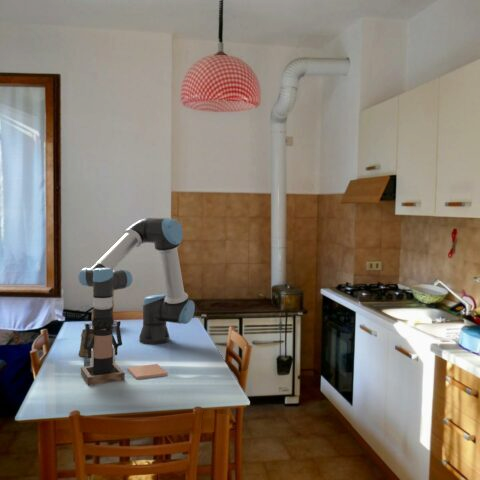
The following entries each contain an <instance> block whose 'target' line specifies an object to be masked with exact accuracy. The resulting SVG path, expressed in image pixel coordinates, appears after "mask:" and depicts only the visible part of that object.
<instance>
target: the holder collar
mask: <svg viewBox="0 0 480 480" xmlns="http://www.w3.org/2000/svg"><path fill="white" fill-rule="evenodd" d="M125 374H126V373H125V371H124V370H123V369H122V368H121V367H120V366H119V365H118V364H117V363H116V362H115V364H112V373H110V374H102V375H94V376H93V367H91V366H87V367H84V366H81V367H80V375H81V377H82V378H83V379H84V382H85V383H86V384H87V385H88V386H93V385H101V384H107V383H116V382H117V383H118V382H123V381H126V380H125V379H126V378H125V377H126V375H125Z"/></svg>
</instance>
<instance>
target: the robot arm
mask: <svg viewBox="0 0 480 480" xmlns="http://www.w3.org/2000/svg"><path fill="white" fill-rule="evenodd" d="M183 236H184V232H183V227H182V225H181V223H180V222H179V220H177V219H174V218H169V217H167V218H161V217H160V218H157V217H156V218H155V217H154V218H153V217H147V218H143V219H139V220H138V221H136V222H134V223H133V224H131V225H130V226H129V227H128V228H126V230H125V231H123V235H122V237H120V239H119V240H118V241H117V242H115V244H114V245H113V246H111V248H109V250H107V251H106V252H104V254H103V255H102V256H101V257H100V258H99V259H98V260H97V261H96V262H95V263H94V264H93V265H92V266H91V267H84V268H82V269H81V270H80V271H79V273H78V281H79V283H80V285H82V286H86V287H90V288H93V289H92V292H93V293H92V307H94V309H93V308H92V311H93V320H92V319H91V322H85V323H84V329H85V334H84V341H83V348H84V349H87V350H88V352H87V356H88V358H90V366H91V367H93V365H94V350H93V349H92V347H93V345H94V336H93V335H92V337H91V339H90V342H89V344H88V338H89V332H90V329H92V325H93V326H94V327H95V329H97V330H100V329H107V330H110V329H111V328H110V327H111V326H112V324H113V323H114V329H115V335H116V337H114V334H113V332H112V342H113V357H112V364H115V363H116V362H115V361H116V356H117V355H118V348H119V347H120V346H122V345H123V338H122V334H121V320H118V319H117V320H115V319H114V320H113V318H114V307H113V308H112V306H113V303H114V296H113V290H114V291H118V290H124V289H126V288H129V287H130V286H131V285H132V283H133V275H132V273H131V272H130V271H129V270H128V269H120V270H115V269H116V268H117V267H118V266H119V265H120V264H121V263H122V262H123V261H124V259H126V258H127V257H128V256H129V255H130V254H131V252H133V250H134V249H135V248H139V247H140V246H141V245H143V244H145V243H150V244H154V250H156V251H157V252H158V255H159V258H160V263H161V271H162V275H163V281H164V287H165V292H166V293H165V294H164V293H163V294H152V295H147V296H145V297H144V298H143V301H142V302H143V303H142V326H141V327H142V328H141V331H140V334H139V338H138V339H139V340H138V341H139V342H140V343H141V344H146V345H159V344H160V345H161V344H166V343H168V342H170V333H169V330H168V327H167V322H168V323H174V324H179V325H181V324H182V325H184V324H185V325H186V324H189V323H190V322H191V320H192V318H193V317H194V314H195V311H196V310H195V307H196V306H195V302H194V301H193V300H191V299H190V300H189V295H188V293H187V292H185V289H184V283H183V282H184V281H183V276H182V270H181V269H182V268H181V265H180V263H181V262H180V257H179V253H178V248H179V247H180V244H181V242H182V241H183V239H184V238H183ZM116 340H117V341H116ZM87 345H88V346H87Z"/></svg>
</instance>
